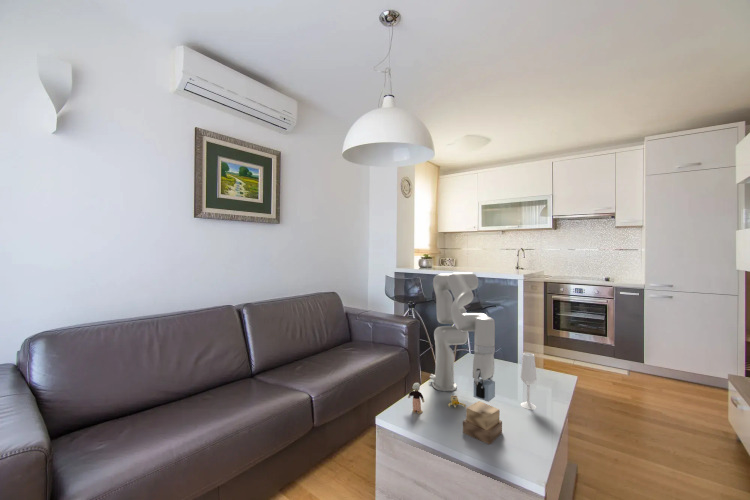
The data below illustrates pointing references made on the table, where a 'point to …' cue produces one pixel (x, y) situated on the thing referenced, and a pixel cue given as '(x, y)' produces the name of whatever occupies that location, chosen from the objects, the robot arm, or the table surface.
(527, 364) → the champagne flute
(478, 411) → the tower top
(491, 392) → the blue cube
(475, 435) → the tower bottom
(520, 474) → the table surface
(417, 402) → the grandmother figurine
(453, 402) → the character toy
